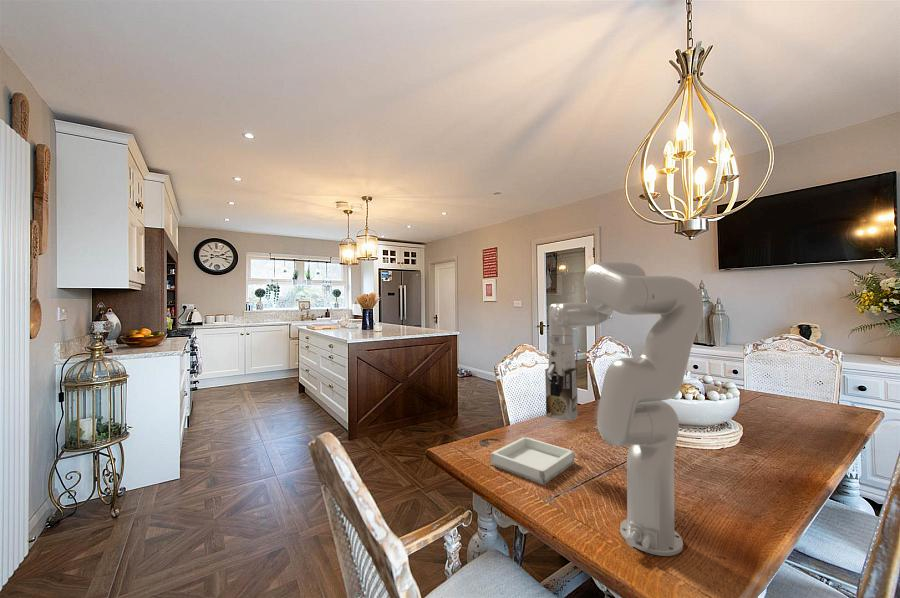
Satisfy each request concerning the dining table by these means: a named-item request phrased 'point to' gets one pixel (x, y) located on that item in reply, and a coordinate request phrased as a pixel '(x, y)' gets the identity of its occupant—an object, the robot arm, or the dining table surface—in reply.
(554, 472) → the tray
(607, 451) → the dining table surface
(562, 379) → the coffee box
